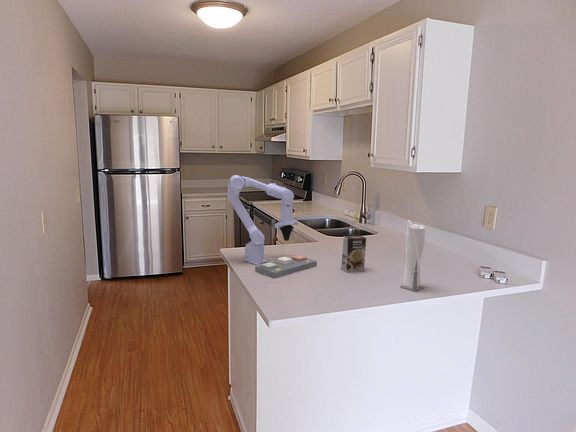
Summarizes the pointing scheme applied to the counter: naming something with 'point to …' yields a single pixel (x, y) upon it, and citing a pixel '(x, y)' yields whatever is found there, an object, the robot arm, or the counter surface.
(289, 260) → the cream key
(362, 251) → the coffee box
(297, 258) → the terracotta key
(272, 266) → the sage key
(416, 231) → the skyscraper
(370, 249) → the counter surface
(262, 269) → the keypad
